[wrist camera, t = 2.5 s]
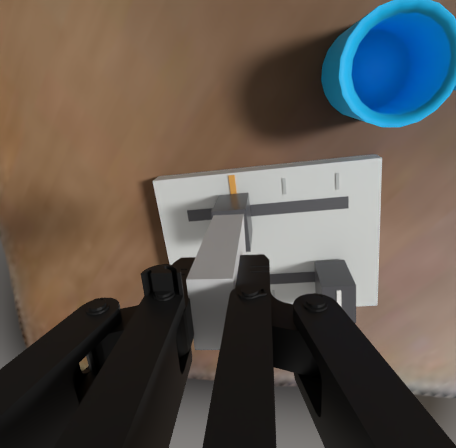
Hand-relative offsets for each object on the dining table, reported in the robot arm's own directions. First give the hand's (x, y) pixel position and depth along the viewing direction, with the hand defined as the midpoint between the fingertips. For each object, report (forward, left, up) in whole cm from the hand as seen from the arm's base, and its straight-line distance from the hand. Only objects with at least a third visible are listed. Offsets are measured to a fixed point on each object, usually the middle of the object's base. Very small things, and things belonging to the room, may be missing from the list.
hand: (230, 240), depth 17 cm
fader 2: (+12, +7, -17) cm, 22 cm away
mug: (-7, +13, -20) cm, 25 cm away
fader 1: (+4, -2, -17) cm, 18 cm away
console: (+8, +1, -19) cm, 21 cm away
